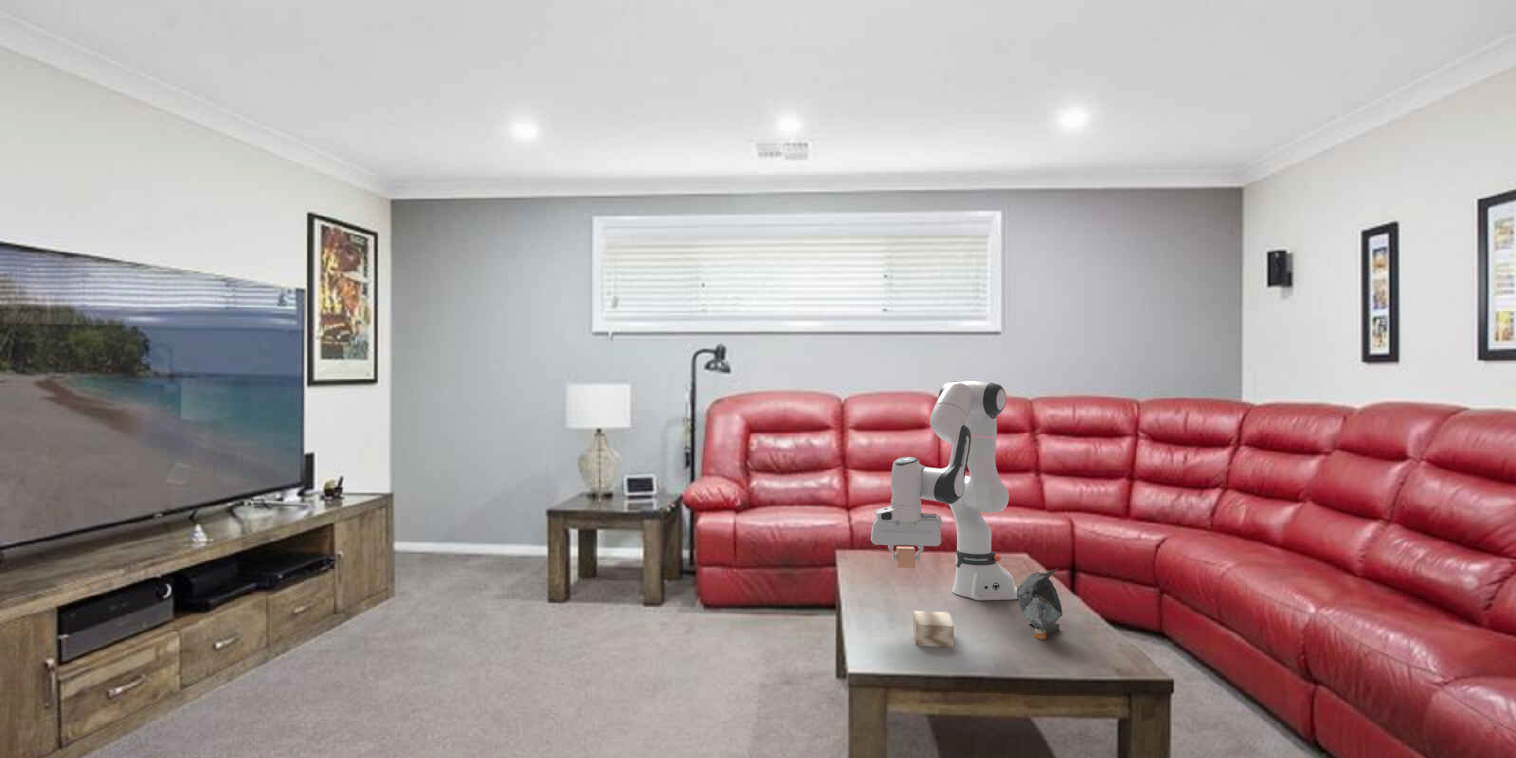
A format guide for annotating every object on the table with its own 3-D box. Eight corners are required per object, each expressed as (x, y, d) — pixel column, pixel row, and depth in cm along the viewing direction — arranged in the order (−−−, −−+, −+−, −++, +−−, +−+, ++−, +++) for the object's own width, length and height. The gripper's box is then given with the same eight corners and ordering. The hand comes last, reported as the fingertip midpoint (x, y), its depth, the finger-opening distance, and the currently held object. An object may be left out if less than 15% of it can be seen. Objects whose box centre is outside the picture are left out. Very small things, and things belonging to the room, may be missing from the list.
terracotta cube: (913, 563, 227) (913, 546, 227) (915, 568, 222) (915, 550, 222) (896, 563, 227) (896, 546, 227) (897, 567, 222) (897, 550, 222)
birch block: (949, 633, 219) (949, 612, 218) (953, 648, 207) (953, 626, 207) (913, 631, 220) (913, 610, 220) (915, 646, 208) (916, 624, 208)
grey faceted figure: (1003, 633, 218) (1002, 570, 217) (1033, 622, 227) (1033, 562, 227) (1048, 647, 206) (1048, 581, 206) (1078, 635, 216) (1078, 572, 215)
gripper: (940, 511, 226) (940, 558, 227) (870, 510, 228) (870, 556, 229) (943, 515, 220) (943, 563, 220) (872, 514, 222) (871, 561, 222)
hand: (905, 560), depth 224 cm, fingers closed on terracotta cube, 5 cm apart
